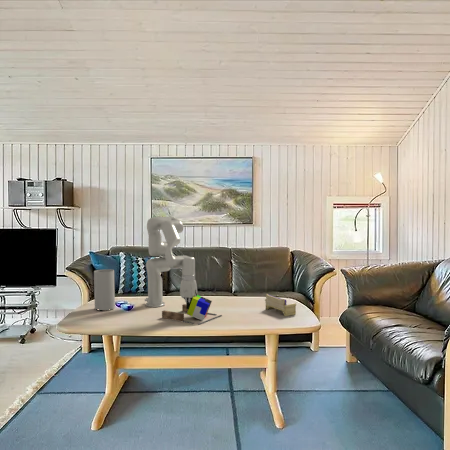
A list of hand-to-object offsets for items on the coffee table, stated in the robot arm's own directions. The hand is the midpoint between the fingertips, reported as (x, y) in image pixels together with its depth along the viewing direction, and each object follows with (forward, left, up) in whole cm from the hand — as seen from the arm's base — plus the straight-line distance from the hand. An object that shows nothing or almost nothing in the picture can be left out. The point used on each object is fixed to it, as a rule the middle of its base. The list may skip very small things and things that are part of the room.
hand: (189, 308), depth 239 cm
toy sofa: (+41, +39, -5) cm, 57 cm away
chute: (-5, 0, -5) cm, 7 cm away
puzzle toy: (+6, 0, -3) cm, 6 cm away
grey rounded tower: (-59, -13, -5) cm, 61 cm away
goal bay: (+10, 0, -5) cm, 11 cm away
